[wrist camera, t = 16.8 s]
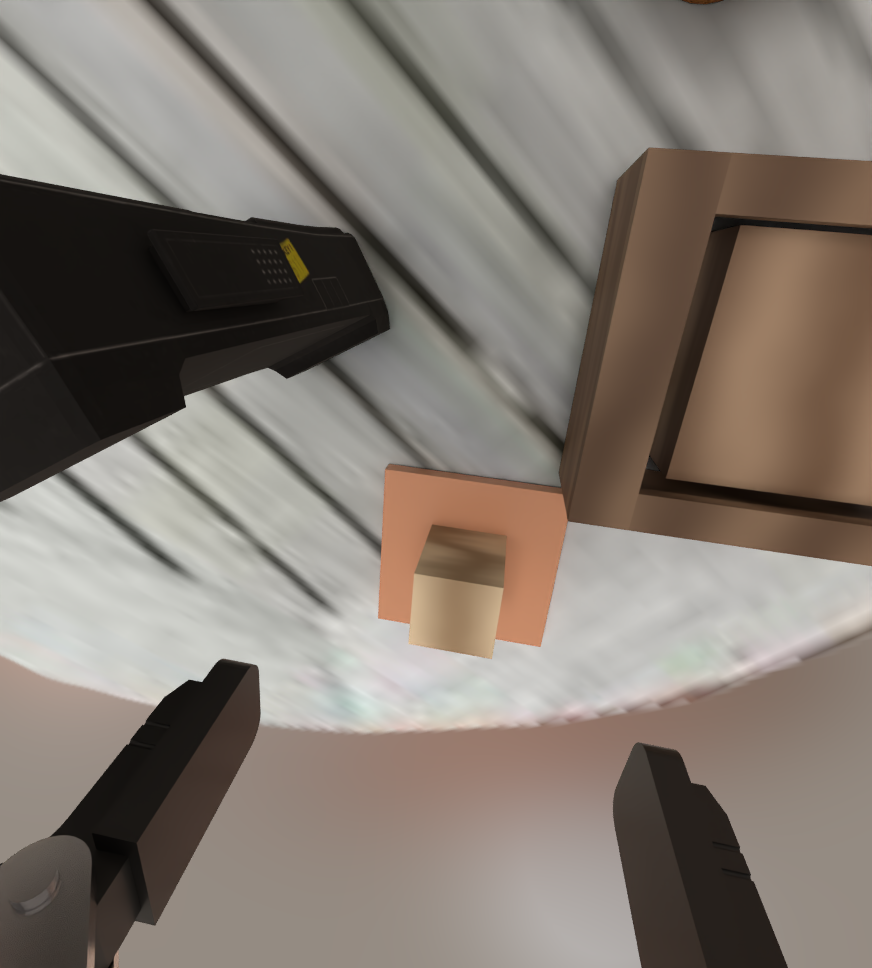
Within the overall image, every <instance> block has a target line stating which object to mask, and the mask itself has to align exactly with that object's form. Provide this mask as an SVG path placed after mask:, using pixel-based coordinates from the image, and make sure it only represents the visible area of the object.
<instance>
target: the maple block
mask: <svg viewBox="0 0 872 968" xmlns="http://www.w3.org/2000/svg"><path fill="white" fill-rule="evenodd" d="M506 540H507V536H505V535H498V534H491V533H485V532H478V531H472V530H465V529H459V528H452V527H446V526H439V525H432V526H431V529H430V531H429V534H428V537H427V540H426V542H425V545H424V548H423V551H422V553H421V556H420V559H419V561H418V564H417V567H416V570H415V572H414V581H413V594H412V606H411V619H410V631H409V644H412V645H418V646H423V647H429V648H434V649H440V650H445V651H451V652H456V653H462V654H467V655H473V656H478V657H484V658H489V659H492V655H493V649H494V643H495V637H496V631H497V625H498V619H499V613H500V607H501V601H502V595H503V589H504V574H505V557H506Z"/></svg>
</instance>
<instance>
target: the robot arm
mask: <svg viewBox="0 0 872 968" xmlns="http://www.w3.org/2000/svg"><path fill="white" fill-rule="evenodd" d="M259 722H260V689H259V669H258V667H257V665H253V664H248V663H243V662H238V661H233V660H228V659H221V660H219V661H218V662H217V663H216V664H215V665H214V667H213V668H212V669H211V671H210V672H209V674H208V675H207V676H206V678H205V679H204V680H203V682H198V681H194V680H188V681H187V682H185V683H184V684H182V685H181V686H180V687H178V688H177V689H175V690H174V691H173V692H171V693H170V694H168V695H167V696H165V697H164V698H163V700H162V701H161V702H160V703H159V705H158V706H157V707H156V708H155V710H154V711H153V712H152V713H151V715H150V716H149V717H148V719H147V720H146V723H145V725H142V726H141V727H140V728H139V730H138V731H137V732H136V734H135V735H134V736H133V737H132V739H131V741H130V743H129V745H126V746H125V747H124V748H123V750H122V751H121V752H120V754H119V755H118V756H117V757H116V759H115V760H114V761H113V762H112V764H111V765H110V766H109V767H108V769H107V770H106V771H105V772H104V774H103V775H102V776H101V777H100V779H99V780H98V781H97V782H96V784H95V785H94V786H93V787H92V789H91V790H90V791H89V792H88V794H87V795H86V796H85V797H84V799H83V800H82V801H81V802H80V804H79V805H78V806H77V807H76V809H75V810H74V811H73V812H72V814H71V815H70V816H69V817H68V819H67V820H66V821H65V822H64V823H63V824H62V826H61V827H60V828H59V829H58V830H57V831H56V832H55V833H54V834H52V835H51V836H50V837H48V838H45V839H42V840H39V841H37V842H35V843H32V844H30V845H28V846H27V847H25V848H23V849H21V850H20V851H18V852H17V853H16V854H14V855H13V856H11V857H10V858H9V859H8V860H7V861H5V862H4V863H1V864H0V968H119V951H118V949H119V948H120V946H121V944H122V942H123V941H124V939H125V937H126V935H127V934H128V932H129V930H130V928H131V927H132V925H133V923H134V921H138V922H142V923H147V924H151V925H156V923H157V921H158V919H159V917H160V916H161V914H162V912H163V910H164V908H165V906H166V905H167V903H168V901H169V899H170V897H171V895H172V893H173V891H174V890H175V888H176V885H177V884H178V882H179V880H180V878H181V876H182V875H183V873H184V871H185V869H186V867H187V865H188V863H189V862H190V860H191V858H192V856H193V854H194V852H195V850H196V848H197V846H198V845H199V843H200V841H201V839H202V837H203V835H204V833H205V831H206V830H207V828H208V826H209V824H210V822H211V820H212V819H213V817H214V815H215V813H216V811H217V809H218V807H219V805H220V803H221V802H222V799H223V798H224V796H225V794H226V792H227V791H228V789H229V787H230V785H231V783H232V781H233V779H234V777H235V776H236V774H237V772H238V770H239V768H240V766H241V764H242V763H243V761H244V759H245V757H246V755H247V753H248V751H249V749H250V748H251V746H252V743H253V741H254V739H255V736H256V733H257V730H258V727H259ZM613 816H614V817H613V818H614V825H615V831H616V836H617V841H618V846H619V852H620V857H621V862H622V867H623V872H624V878H625V882H626V888H627V894H628V899H629V904H630V909H631V914H632V920H633V925H634V930H635V935H636V940H637V946H638V951H639V957H640V961H641V967H642V968H788V967H787V964H786V962H785V959H784V956H783V954H782V951H781V949H780V946H779V944H778V941H777V939H776V937H775V934H774V931H773V929H772V926H771V924H770V921H769V919H768V916H767V914H766V912H765V909H764V906H763V904H762V901H761V899H760V896H759V894H758V891H757V889H756V887H755V884H754V882H753V881H751V879H750V875H751V874H750V871H749V869H748V866H747V864H746V861H745V859H744V856H743V854H741V853H740V846H739V844H738V842H737V839H736V836H735V834H734V831H733V829H732V826H731V824H730V821H729V819H728V816H727V814H726V813H725V812H724V811H723V809H722V808H721V806H720V805H719V804H718V803H717V801H716V800H715V798H714V797H713V795H712V794H711V793H710V791H709V790H708V789H707V787H706V786H703V785H699V784H693V783H691V781H690V778H689V776H688V773H687V770H686V767H685V765H684V762H683V759H682V757H681V755H680V754H679V752H678V751H676V750H674V749H669V748H664V747H659V746H654V745H649V744H644V743H639V742H638V743H636V744H635V745H634V747H633V749H632V751H631V753H630V756H629V758H628V760H627V763H626V765H625V768H624V770H623V772H622V775H621V777H620V779H619V782H618V784H617V787H616V789H615V793H614V800H613Z"/></svg>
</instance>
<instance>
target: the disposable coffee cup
mask: <svg viewBox="0 0 872 968" xmlns="http://www.w3.org/2000/svg"><path fill="white" fill-rule="evenodd" d="M682 1H686V2H689V3H694V4H709V3H714V2H719V1H723V0H682Z"/></svg>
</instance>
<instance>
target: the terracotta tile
mask: <svg viewBox="0 0 872 968" xmlns="http://www.w3.org/2000/svg"><path fill="white" fill-rule="evenodd" d="M567 522H568V519H567V514H566V509H565V504H564V498H563V493H562V488H557V487H550V486H543V485H536V484H529V483H522V482H515V481H507V480H500V479H493V478H486V477H479V476H472V475H465V474H457V473H450V472H443V471H436V470H429V469H422V468H415V467H407V466H400V465H393V464H389V465H388V466H387V468H386V469H385V486H384V507H383V528H382V549H381V570H380V591H379V612H378V618H380V619H385V620H391V621H397V622H402V623H408V624H410V619H411V606H412V594H413V581H414V572H415V570H416V567H417V564H418V561H419V559H420V556H421V553H422V551H423V548H424V545H425V542H426V540H427V537H428V534H429V531H430V529H431V526H432V525H439V526H446V527H452V528H459V529H465V530H472V531H478V532H485V533H491V534H498V535H505V536H507V540H506V557H505V574H504V589H503V595H502V601H501V607H500V613H499V619H498V625H497V631H496V637H495V639H498V640H504V641H510V642H515V643H521V644H527V645H532V646H538V647H540V646H541V642H542V637H543V633H544V628H545V623H546V619H547V614H548V609H549V605H550V600H551V596H552V591H553V586H554V582H555V577H556V573H557V568H558V563H559V559H560V554H561V550H562V545H563V540H564V536H565V531H566V526H567Z"/></svg>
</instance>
